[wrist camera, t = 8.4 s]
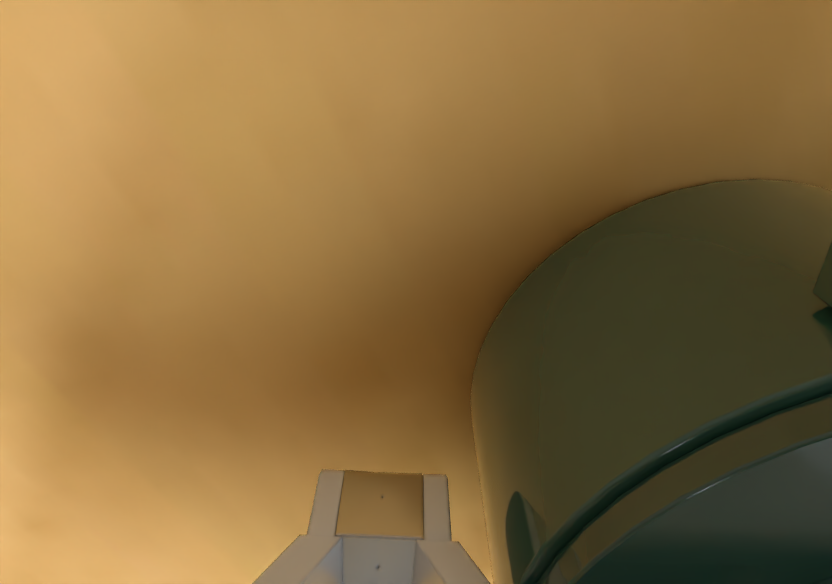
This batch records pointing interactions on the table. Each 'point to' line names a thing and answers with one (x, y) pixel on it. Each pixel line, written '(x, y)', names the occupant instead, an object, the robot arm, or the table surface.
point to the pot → (666, 397)
